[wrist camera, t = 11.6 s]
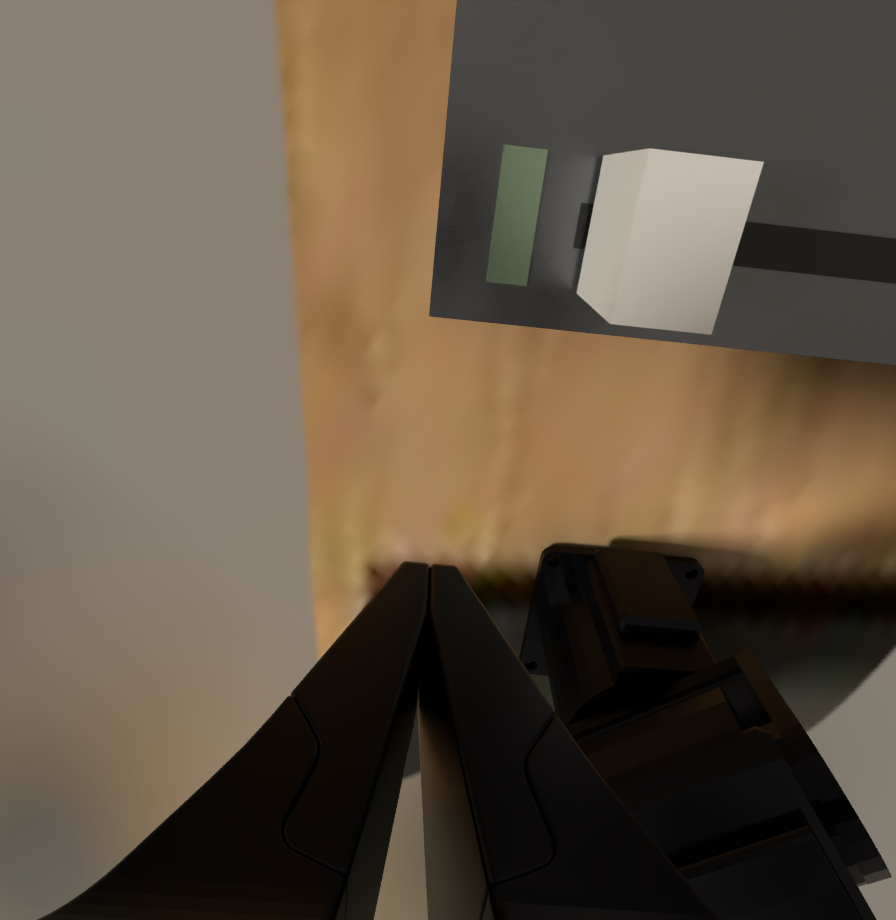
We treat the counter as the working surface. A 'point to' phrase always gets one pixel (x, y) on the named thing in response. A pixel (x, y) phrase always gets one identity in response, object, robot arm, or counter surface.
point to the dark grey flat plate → (682, 130)
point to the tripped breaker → (665, 237)
